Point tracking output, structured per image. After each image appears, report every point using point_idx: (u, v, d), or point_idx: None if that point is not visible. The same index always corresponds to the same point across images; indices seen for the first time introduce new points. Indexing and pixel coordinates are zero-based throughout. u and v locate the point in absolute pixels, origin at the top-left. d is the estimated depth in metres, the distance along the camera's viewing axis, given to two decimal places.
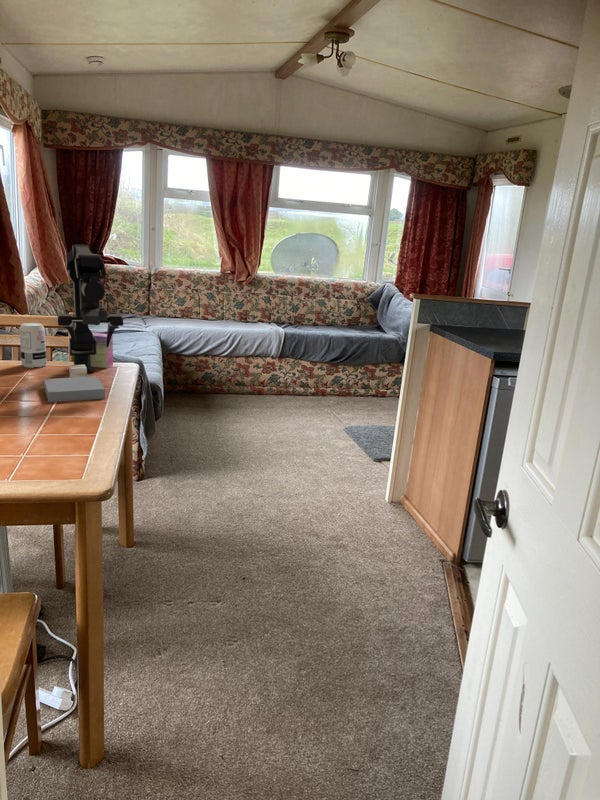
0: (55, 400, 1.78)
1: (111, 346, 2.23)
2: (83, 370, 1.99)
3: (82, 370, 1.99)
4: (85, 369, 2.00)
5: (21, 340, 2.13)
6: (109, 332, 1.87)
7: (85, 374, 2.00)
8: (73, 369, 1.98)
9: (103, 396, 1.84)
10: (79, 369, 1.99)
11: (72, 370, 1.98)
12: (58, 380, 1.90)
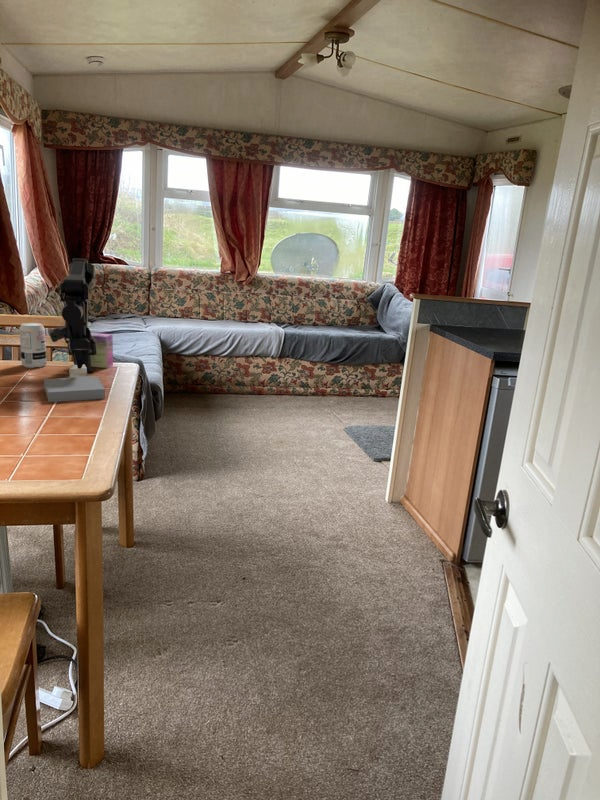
0: (55, 400, 1.78)
1: (111, 346, 2.23)
2: (83, 370, 1.99)
3: (82, 370, 1.99)
4: (85, 369, 2.00)
5: (21, 340, 2.13)
6: (74, 353, 1.94)
7: (85, 374, 2.00)
8: (73, 369, 1.98)
9: (103, 396, 1.84)
10: (79, 369, 1.99)
11: (72, 370, 1.98)
12: (58, 380, 1.90)
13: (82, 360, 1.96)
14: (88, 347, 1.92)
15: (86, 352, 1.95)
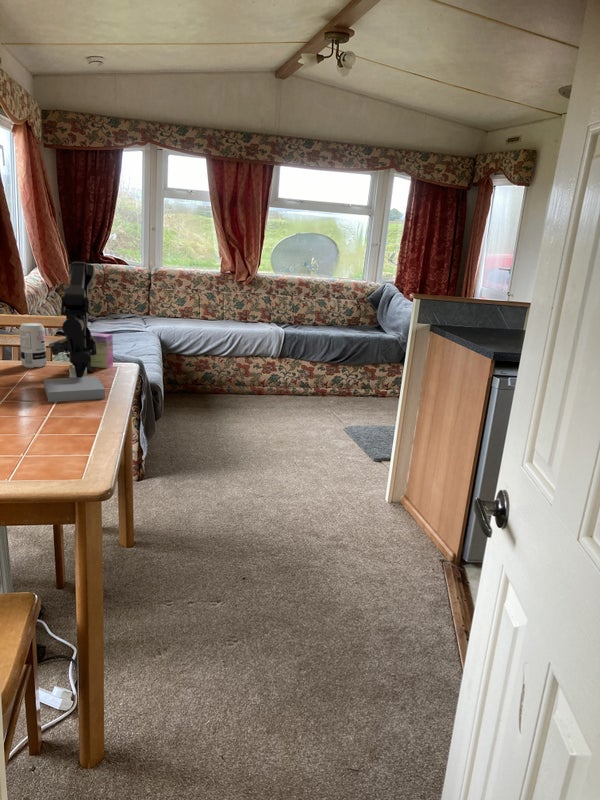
0: (55, 400, 1.78)
1: (111, 346, 2.23)
2: None
3: None
4: (85, 369, 2.00)
5: (21, 340, 2.13)
6: (74, 365, 1.97)
7: (85, 374, 2.00)
8: (73, 369, 1.98)
9: (103, 396, 1.84)
10: None
11: (72, 370, 1.98)
12: (58, 380, 1.90)
13: (82, 372, 1.98)
14: (88, 360, 1.93)
15: (86, 364, 1.97)
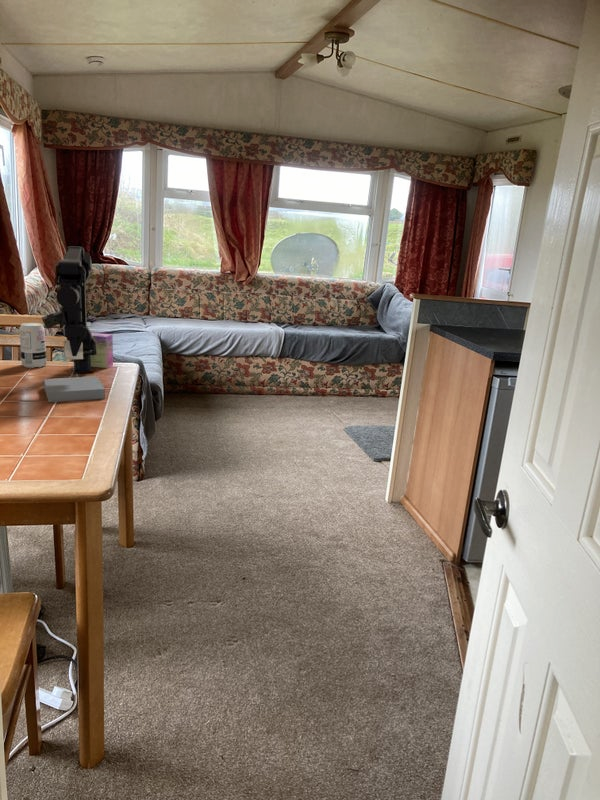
0: (55, 400, 1.78)
1: (111, 346, 2.23)
2: None
3: None
4: (81, 344, 1.85)
5: (21, 340, 2.13)
6: None
7: (81, 350, 1.86)
8: (68, 344, 1.84)
9: (103, 396, 1.84)
10: None
11: (67, 345, 1.84)
12: (58, 380, 1.90)
13: (77, 347, 1.84)
14: (84, 334, 1.78)
15: (81, 338, 1.83)
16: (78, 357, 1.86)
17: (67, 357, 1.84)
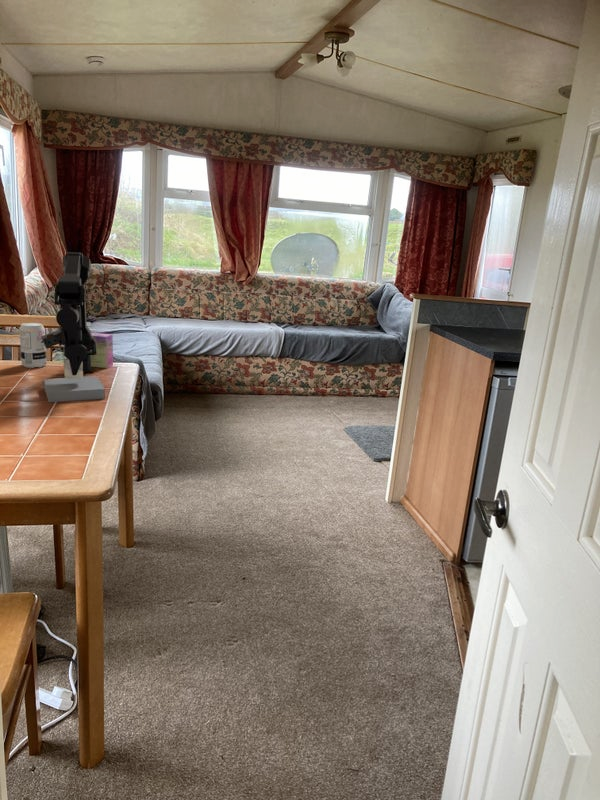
0: (55, 400, 1.78)
1: (111, 346, 2.23)
2: None
3: None
4: (81, 363, 1.84)
5: (21, 340, 2.13)
6: None
7: (81, 368, 1.85)
8: (68, 363, 1.82)
9: (103, 396, 1.84)
10: None
11: (67, 364, 1.82)
12: (58, 380, 1.90)
13: (77, 366, 1.83)
14: (84, 354, 1.77)
15: (81, 358, 1.82)
16: (78, 376, 1.85)
17: (67, 376, 1.83)
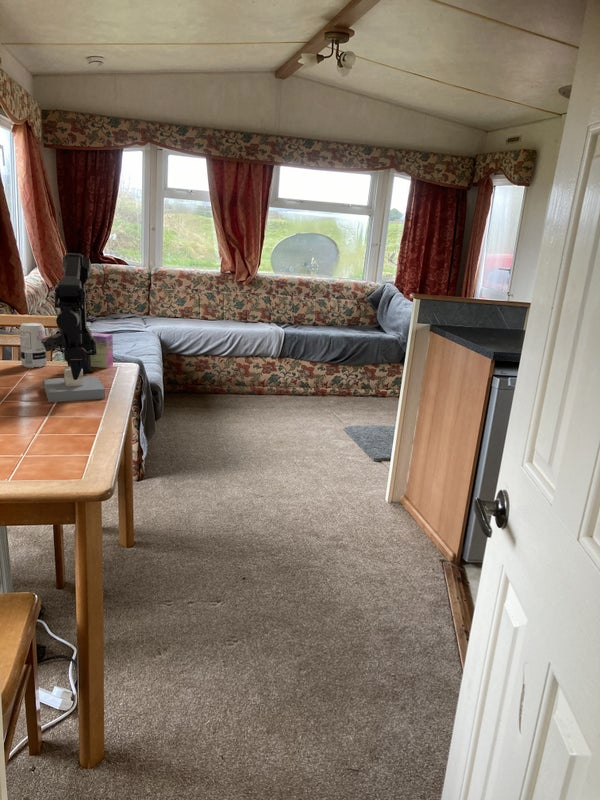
0: (55, 400, 1.78)
1: (111, 346, 2.23)
2: None
3: None
4: (81, 371, 1.85)
5: (21, 340, 2.13)
6: (69, 364, 1.80)
7: (81, 376, 1.85)
8: (68, 371, 1.83)
9: (103, 396, 1.84)
10: None
11: (67, 372, 1.83)
12: (58, 380, 1.90)
13: (78, 371, 1.81)
14: (84, 357, 1.77)
15: (82, 362, 1.80)
16: (78, 384, 1.85)
17: (67, 384, 1.84)
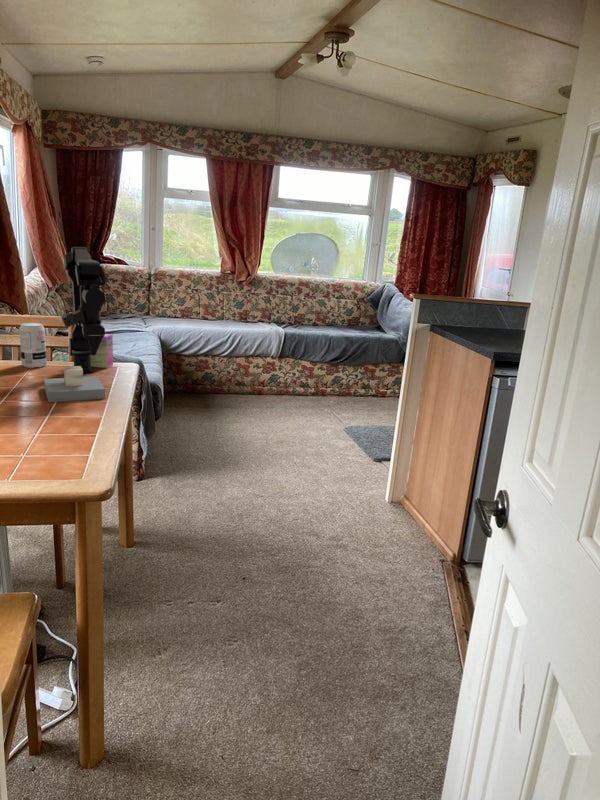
0: (55, 400, 1.78)
1: (111, 346, 2.23)
2: (79, 372, 1.84)
3: (78, 372, 1.84)
4: (81, 371, 1.85)
5: (21, 340, 2.13)
6: (88, 340, 1.86)
7: (81, 376, 1.85)
8: (68, 371, 1.83)
9: (103, 396, 1.84)
10: (74, 371, 1.84)
11: (67, 372, 1.83)
12: (58, 380, 1.90)
13: (96, 347, 1.87)
14: (102, 333, 1.83)
15: (100, 338, 1.86)
16: (78, 384, 1.85)
17: (67, 384, 1.84)
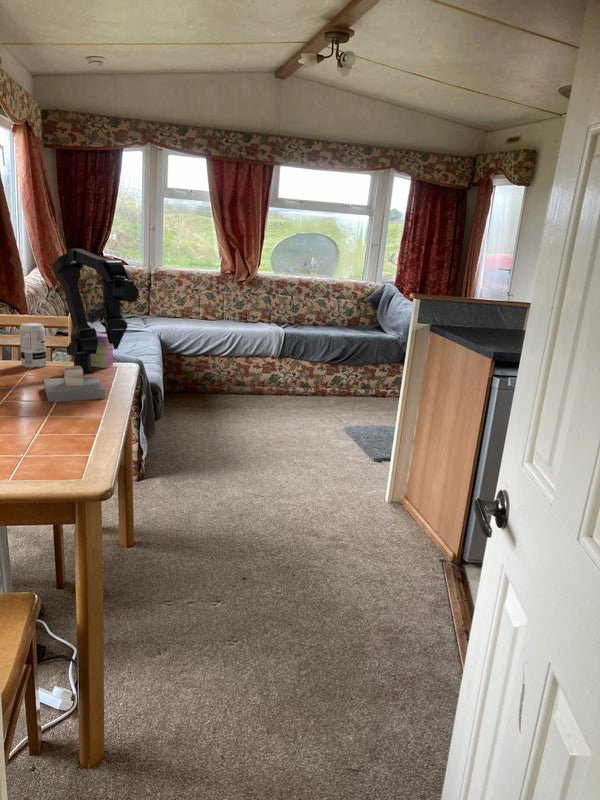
0: (55, 400, 1.78)
1: (111, 346, 2.23)
2: (79, 372, 1.84)
3: (78, 372, 1.84)
4: (81, 371, 1.85)
5: (21, 340, 2.13)
6: (110, 334, 1.94)
7: (81, 376, 1.85)
8: (68, 371, 1.83)
9: (103, 396, 1.84)
10: (74, 371, 1.84)
11: (67, 372, 1.83)
12: (58, 380, 1.90)
13: (118, 341, 1.96)
14: (125, 327, 1.92)
15: (122, 332, 1.95)
16: (78, 384, 1.85)
17: (67, 384, 1.84)
